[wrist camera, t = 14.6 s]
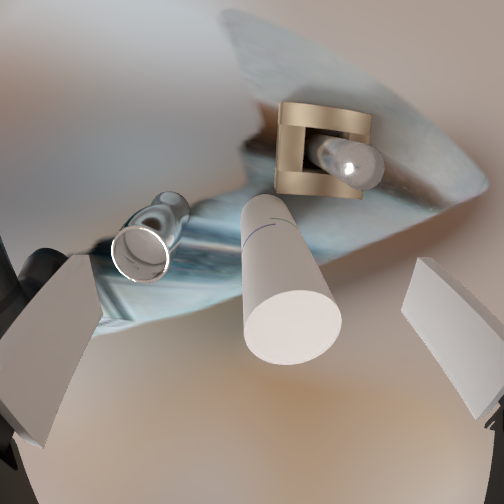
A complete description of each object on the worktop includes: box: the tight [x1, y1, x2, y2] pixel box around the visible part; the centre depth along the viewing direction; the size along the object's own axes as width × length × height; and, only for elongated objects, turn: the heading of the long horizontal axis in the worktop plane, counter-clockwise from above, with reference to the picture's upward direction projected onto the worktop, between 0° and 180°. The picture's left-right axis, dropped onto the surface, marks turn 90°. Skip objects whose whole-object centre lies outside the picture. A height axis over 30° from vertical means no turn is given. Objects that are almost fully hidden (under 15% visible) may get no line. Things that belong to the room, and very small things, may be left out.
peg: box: [304, 134, 384, 191], centre depth 31 cm, size 4×4×16 cm
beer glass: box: [111, 192, 190, 283], centre depth 35 cm, size 7×7×15 cm
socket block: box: [274, 102, 372, 199], centre depth 37 cm, size 12×12×4 cm
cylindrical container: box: [241, 194, 342, 365], centre depth 31 cm, size 7×7×25 cm
